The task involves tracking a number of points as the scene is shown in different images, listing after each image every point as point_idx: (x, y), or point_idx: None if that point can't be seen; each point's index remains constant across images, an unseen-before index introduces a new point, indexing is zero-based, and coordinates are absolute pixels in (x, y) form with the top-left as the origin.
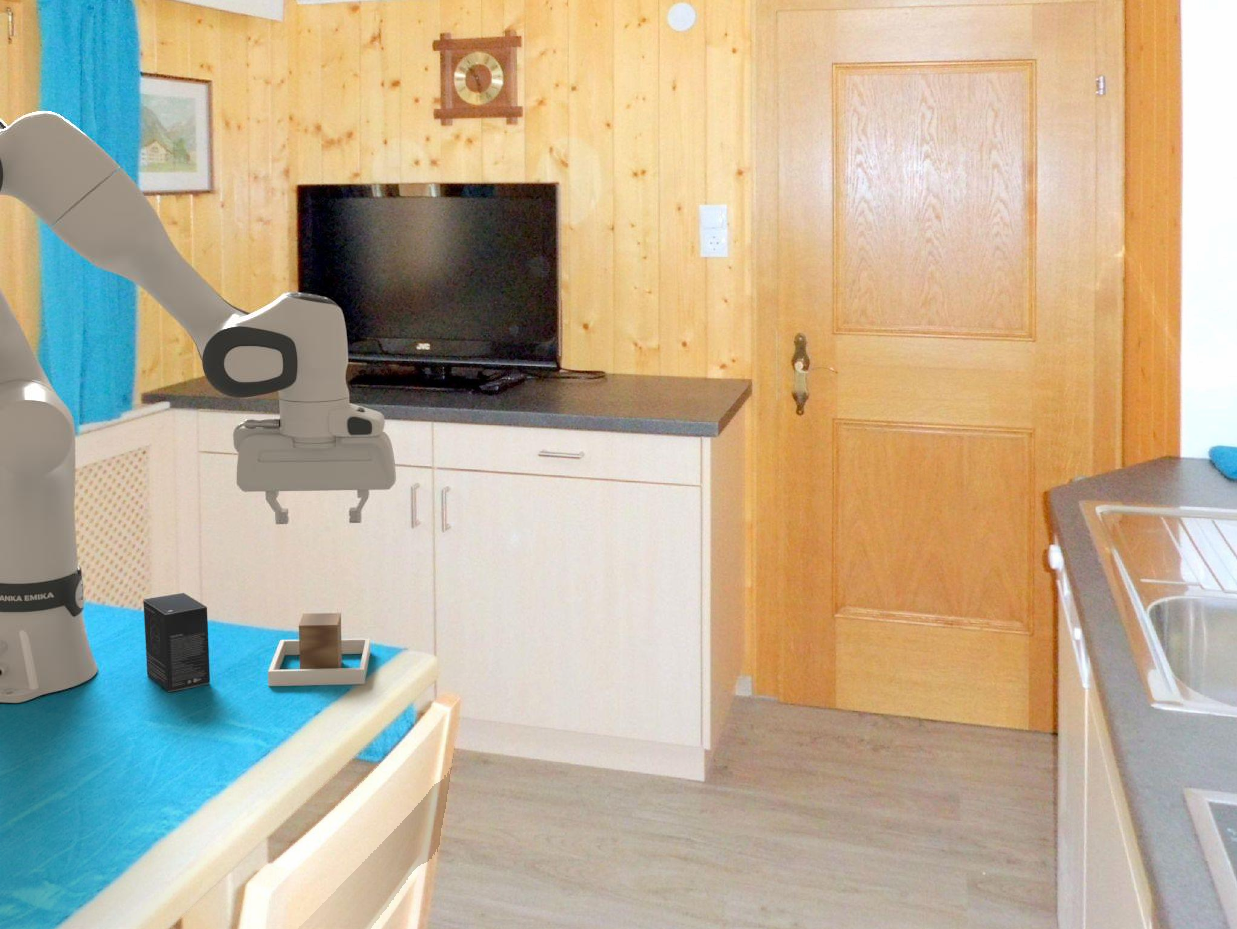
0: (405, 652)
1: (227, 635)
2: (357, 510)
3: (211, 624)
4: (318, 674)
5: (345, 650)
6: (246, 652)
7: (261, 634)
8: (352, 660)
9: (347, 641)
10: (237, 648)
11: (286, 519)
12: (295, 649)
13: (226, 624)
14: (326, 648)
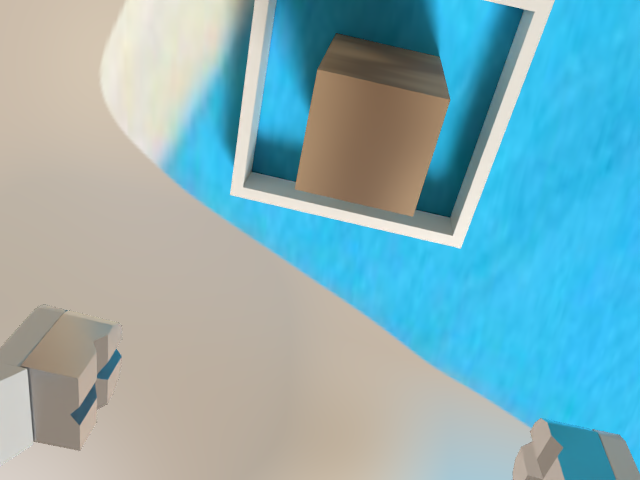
0: (153, 153)
1: (550, 372)
2: (10, 364)
3: None
4: None
5: None
6: (536, 261)
7: (474, 357)
8: (288, 134)
9: (290, 196)
10: (550, 292)
11: (554, 439)
12: (423, 218)
13: None
14: (362, 58)
